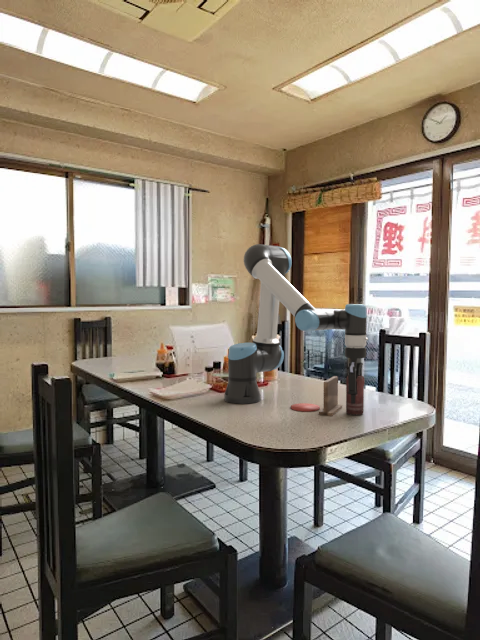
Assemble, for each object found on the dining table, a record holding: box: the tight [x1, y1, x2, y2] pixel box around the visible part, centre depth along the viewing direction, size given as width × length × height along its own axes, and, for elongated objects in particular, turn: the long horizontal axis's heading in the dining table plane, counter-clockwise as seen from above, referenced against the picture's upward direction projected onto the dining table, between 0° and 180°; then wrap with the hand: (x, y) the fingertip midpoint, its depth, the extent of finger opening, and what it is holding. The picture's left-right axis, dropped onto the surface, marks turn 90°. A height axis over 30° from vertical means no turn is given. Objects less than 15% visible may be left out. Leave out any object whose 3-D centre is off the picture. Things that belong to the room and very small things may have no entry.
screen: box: [318, 375, 343, 417], centre depth 166 cm, size 5×14×12 cm, turn 153°
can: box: [345, 374, 365, 417], centre depth 162 cm, size 6×6×14 cm
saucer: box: [290, 402, 321, 413], centre depth 171 cm, size 11×11×1 cm
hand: (355, 410), depth 162 cm, fingers open, 3 cm apart
